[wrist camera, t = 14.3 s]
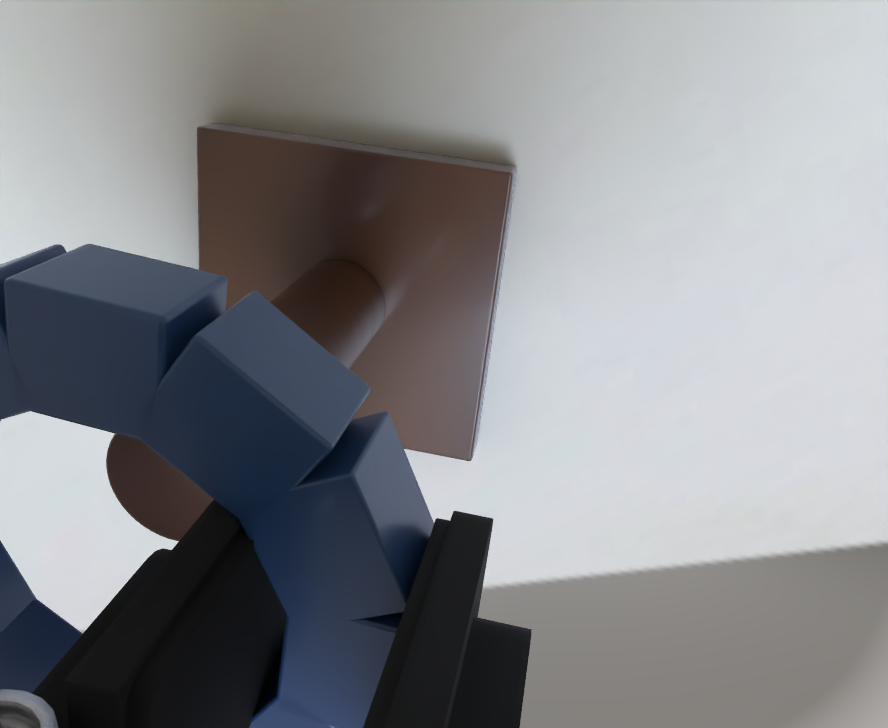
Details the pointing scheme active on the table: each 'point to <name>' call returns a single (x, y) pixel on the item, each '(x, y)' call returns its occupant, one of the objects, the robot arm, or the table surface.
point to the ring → (223, 458)
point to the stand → (349, 283)
